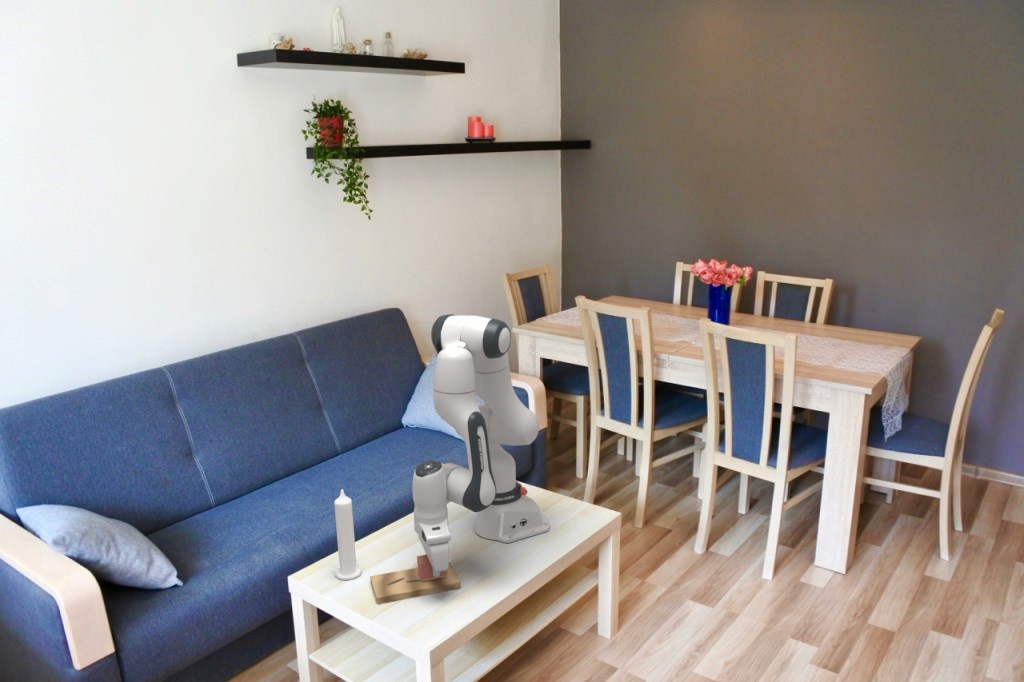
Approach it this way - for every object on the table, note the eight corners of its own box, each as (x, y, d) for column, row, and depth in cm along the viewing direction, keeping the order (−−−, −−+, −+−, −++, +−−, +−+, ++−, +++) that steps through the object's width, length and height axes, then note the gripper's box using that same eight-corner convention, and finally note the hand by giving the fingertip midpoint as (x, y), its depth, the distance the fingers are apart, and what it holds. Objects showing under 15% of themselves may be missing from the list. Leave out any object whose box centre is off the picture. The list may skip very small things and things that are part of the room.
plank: (450, 567, 223) (450, 561, 223) (460, 587, 213) (460, 581, 213) (370, 582, 217) (370, 576, 216) (377, 604, 207) (376, 597, 206)
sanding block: (443, 568, 219) (442, 551, 218) (447, 576, 215) (446, 559, 214) (417, 573, 217) (417, 556, 216) (421, 581, 213) (420, 564, 212)
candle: (357, 564, 226) (350, 481, 220) (365, 576, 220) (359, 491, 214) (332, 571, 223) (325, 487, 216) (339, 583, 217) (332, 497, 210)
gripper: (411, 507, 221) (413, 553, 224) (427, 542, 202) (430, 591, 205) (433, 503, 223) (436, 549, 226) (452, 538, 204) (454, 587, 207)
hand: (433, 569), depth 216 cm, fingers closed on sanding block, 4 cm apart
